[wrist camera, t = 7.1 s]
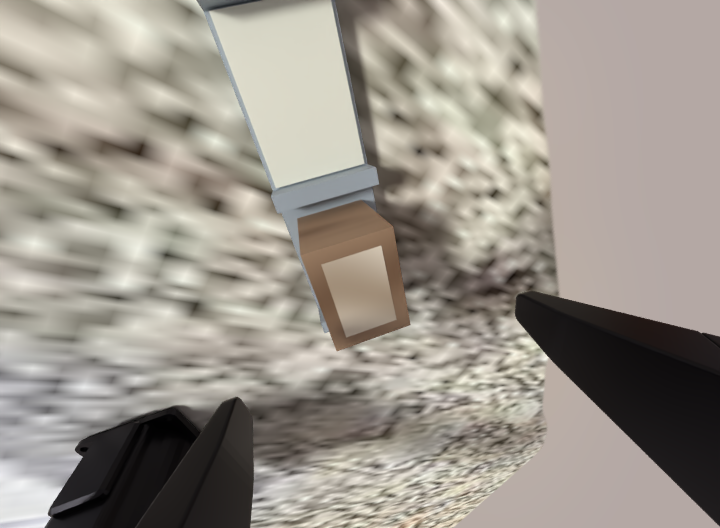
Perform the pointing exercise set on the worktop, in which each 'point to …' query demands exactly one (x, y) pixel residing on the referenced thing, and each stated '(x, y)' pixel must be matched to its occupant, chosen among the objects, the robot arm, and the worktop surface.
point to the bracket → (296, 103)
